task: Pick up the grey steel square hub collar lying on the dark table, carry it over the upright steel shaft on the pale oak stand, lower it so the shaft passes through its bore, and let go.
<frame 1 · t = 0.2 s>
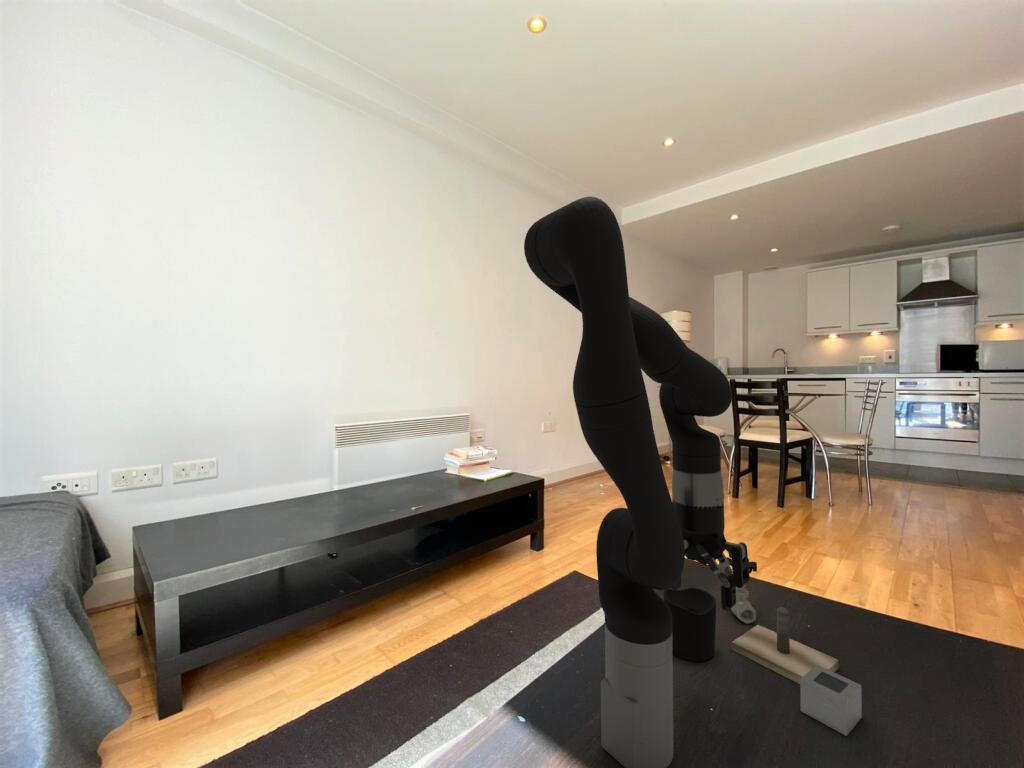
hand: (700, 597, 70), 17 cm above the table, tool pointing down, fingers open, 8 cm apart
hub: (830, 714, 68), on the table
valve: (741, 617, 96), on the table
shaft stand: (783, 658, 82), on the table
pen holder: (689, 649, 85), on the table
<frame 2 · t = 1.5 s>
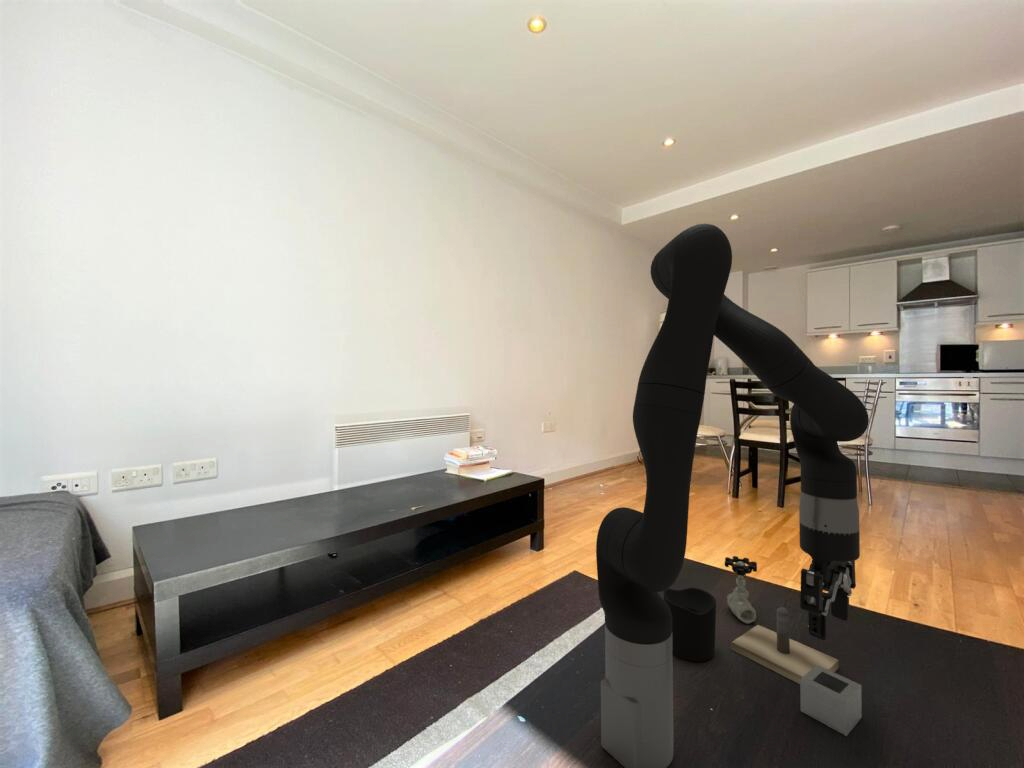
hand: (829, 626, 68), 13 cm above the table, tool pointing down, fingers open, 8 cm apart
nothing on the table moved.
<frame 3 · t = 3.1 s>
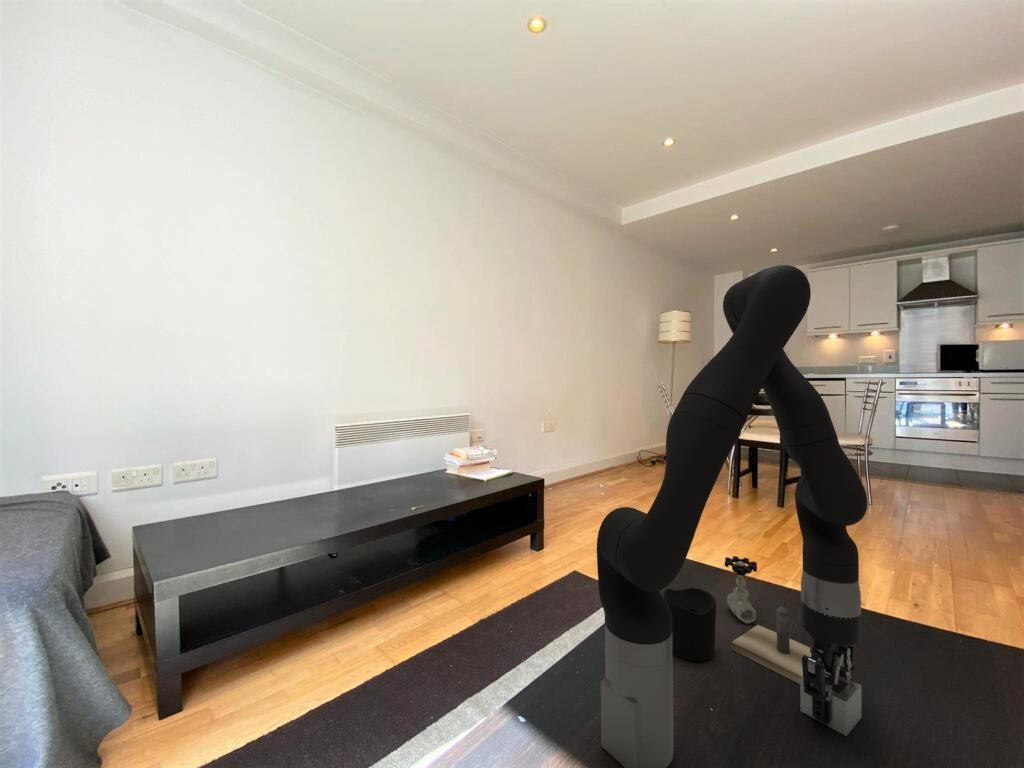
hand: (830, 709, 68), 1 cm above the table, tool pointing down, fingers closed on hub, 6 cm apart
hub: (830, 714, 68), on the table, touching gripper
everything else where it was.
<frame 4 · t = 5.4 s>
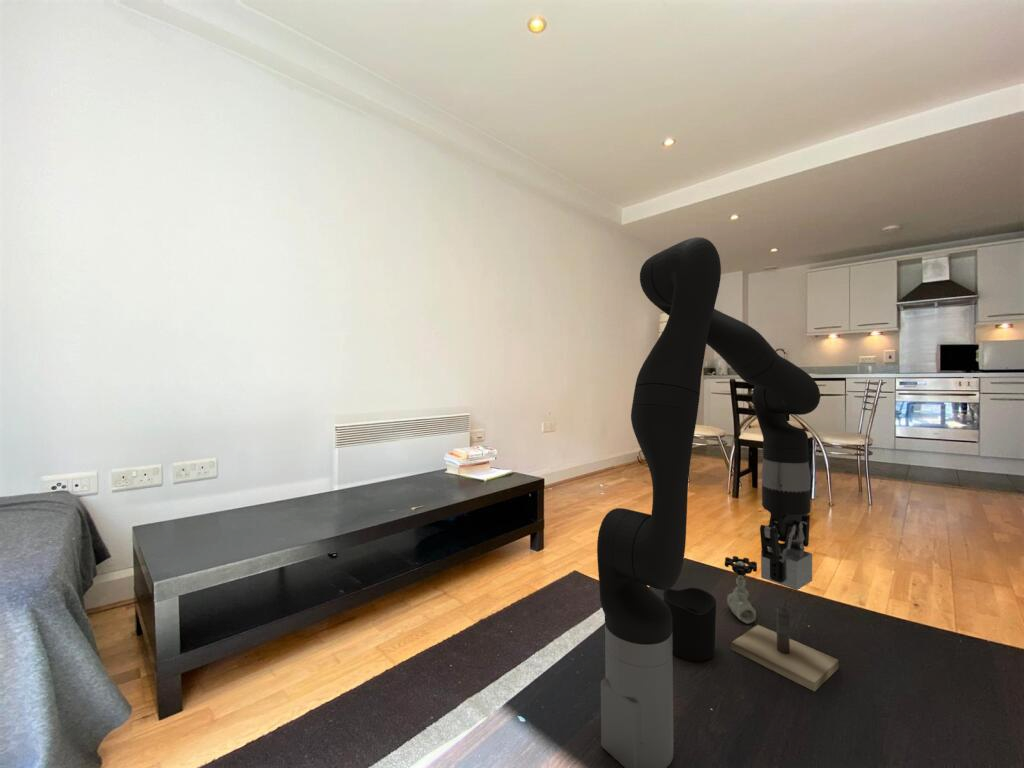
hand: (786, 575, 81), 16 cm above the table, tool pointing down, fingers closed on hub, 6 cm apart
hub: (786, 579, 81), point 15 cm above the table, touching gripper
everything else where it was.
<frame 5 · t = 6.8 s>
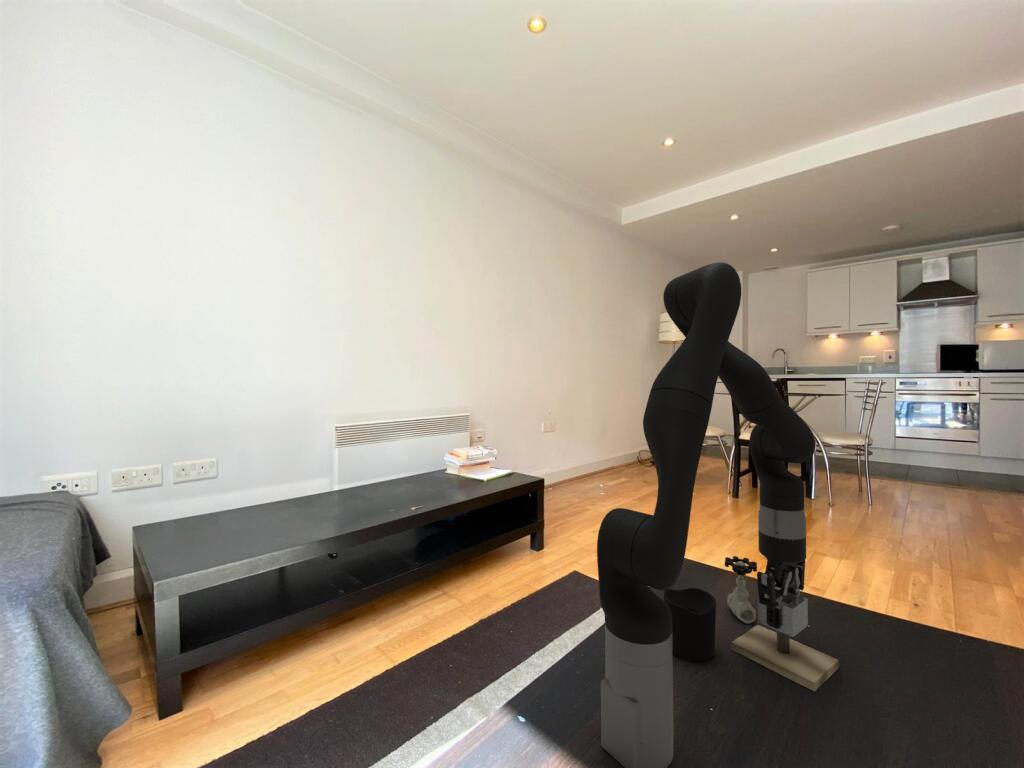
hand: (782, 620, 82), 7 cm above the table, tool pointing down, fingers closed on hub, 6 cm apart
hub: (782, 623, 82), point 6 cm above the table, touching gripper
everything else where it was.
when the fingers open (4 cm above the table, at t = 7.9 s): hub drops 2 cm, resting on shaft stand.
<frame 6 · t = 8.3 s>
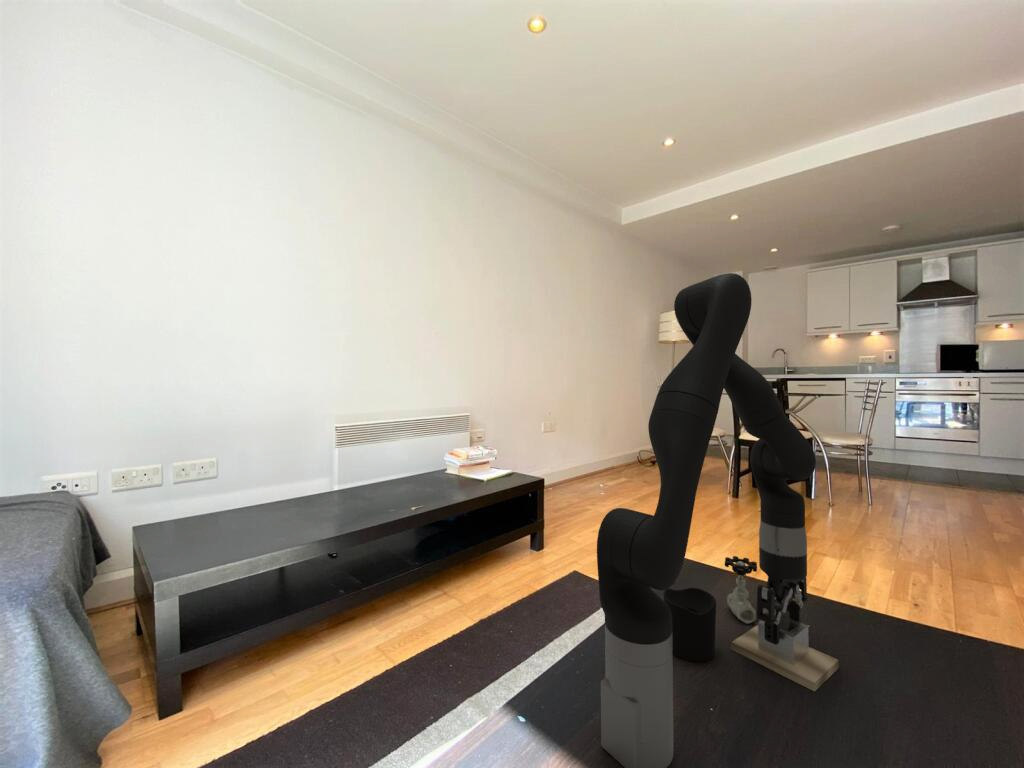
hand: (783, 634, 82), 5 cm above the table, tool pointing down, fingers open, 8 cm apart
hub: (783, 650, 82), point 1 cm above the table, touching shaft stand
everything else where it was.
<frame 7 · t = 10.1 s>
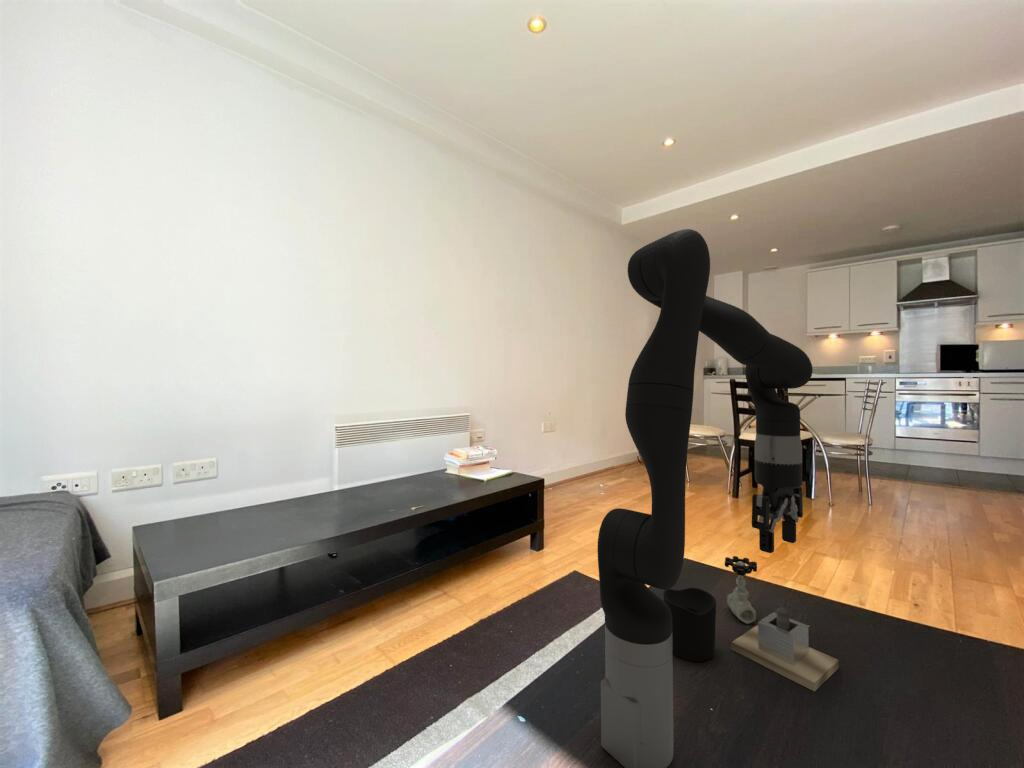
hand: (778, 546, 81), 21 cm above the table, tool pointing down, fingers open, 8 cm apart
nothing on the table moved.
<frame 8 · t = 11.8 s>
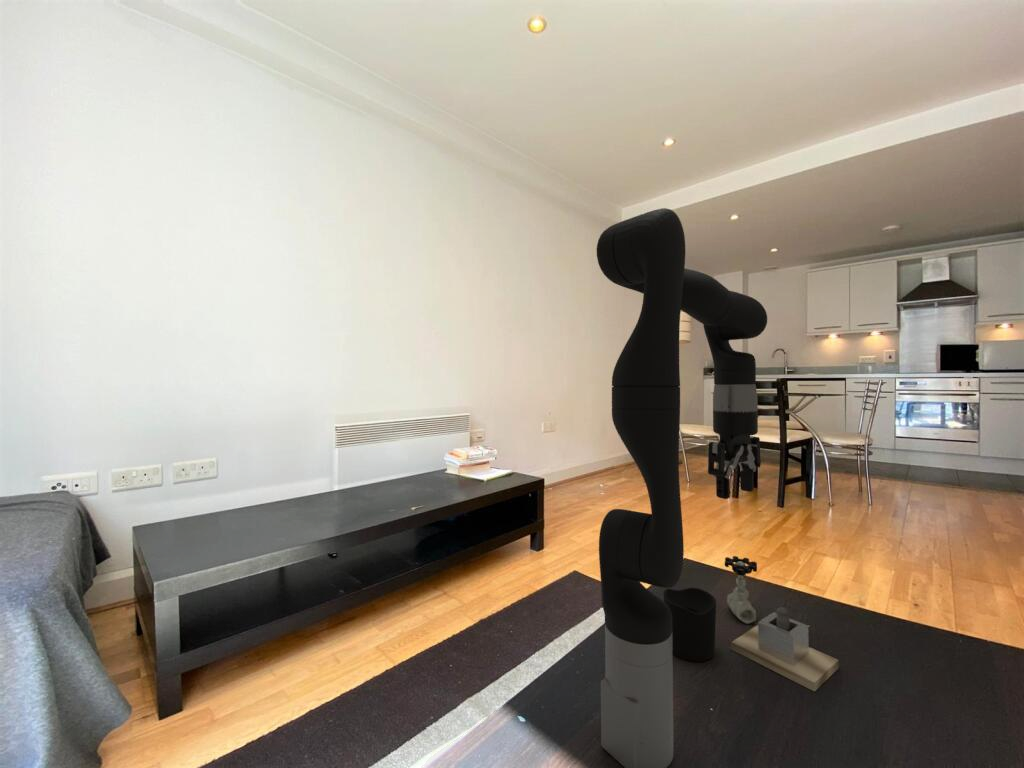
hand: (735, 494, 83), 30 cm above the table, tool pointing down, fingers open, 8 cm apart
nothing on the table moved.
at the end: hub 0.0 cm off-centre on the shaft stand, point 1.5 cm above the shaft stand's base; the gripper is holding nothing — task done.
